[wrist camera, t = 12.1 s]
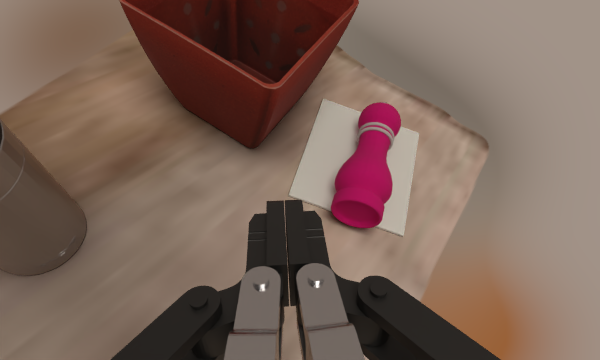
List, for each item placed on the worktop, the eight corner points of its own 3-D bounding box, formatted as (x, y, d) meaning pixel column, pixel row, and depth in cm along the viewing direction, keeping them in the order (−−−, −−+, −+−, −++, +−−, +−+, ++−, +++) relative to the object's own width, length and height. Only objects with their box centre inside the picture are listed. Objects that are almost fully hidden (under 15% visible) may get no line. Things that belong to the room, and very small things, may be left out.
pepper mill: (336, 228, 46) (366, 123, 57) (391, 233, 43) (412, 120, 54) (318, 195, 41) (355, 87, 52) (379, 198, 38) (405, 81, 49)
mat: (402, 236, 46) (403, 235, 46) (288, 196, 46) (288, 194, 46) (418, 134, 56) (419, 133, 55) (322, 100, 55) (323, 98, 55)
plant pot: (229, 37, 58) (230, -74, 44) (327, 95, 56) (363, -2, 42) (146, 107, 49) (111, -5, 34) (259, 179, 47) (274, 92, 32)
